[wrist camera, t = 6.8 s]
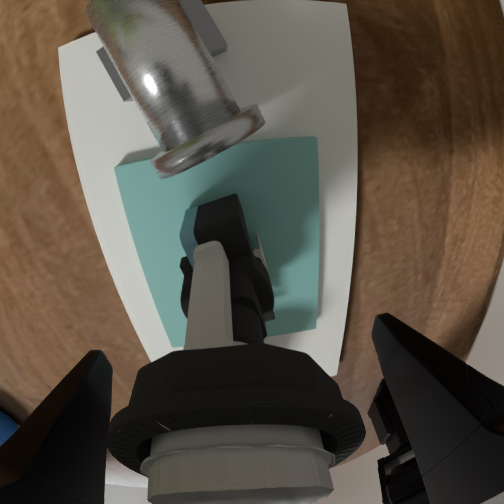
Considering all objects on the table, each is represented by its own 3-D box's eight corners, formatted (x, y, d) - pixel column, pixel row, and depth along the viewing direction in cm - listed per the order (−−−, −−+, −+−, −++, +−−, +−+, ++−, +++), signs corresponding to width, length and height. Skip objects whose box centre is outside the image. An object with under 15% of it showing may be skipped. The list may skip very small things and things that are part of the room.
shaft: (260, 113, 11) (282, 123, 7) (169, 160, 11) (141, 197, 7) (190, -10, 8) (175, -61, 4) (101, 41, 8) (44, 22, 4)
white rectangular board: (339, 8, 9) (351, 0, 8) (333, 366, 20) (338, 381, 19) (66, 49, 8) (51, 46, 7) (171, 388, 20) (170, 403, 18)
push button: (303, 299, 14) (368, 498, 6) (203, 328, 15) (202, 525, 6) (269, 172, 11) (397, 427, 2) (143, 214, 11) (39, 461, 3)
